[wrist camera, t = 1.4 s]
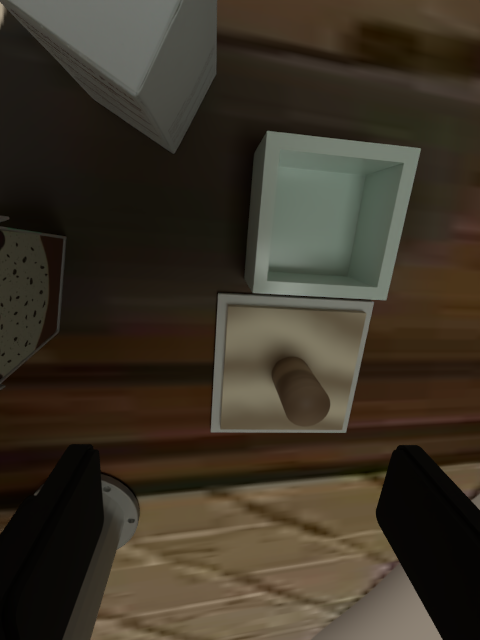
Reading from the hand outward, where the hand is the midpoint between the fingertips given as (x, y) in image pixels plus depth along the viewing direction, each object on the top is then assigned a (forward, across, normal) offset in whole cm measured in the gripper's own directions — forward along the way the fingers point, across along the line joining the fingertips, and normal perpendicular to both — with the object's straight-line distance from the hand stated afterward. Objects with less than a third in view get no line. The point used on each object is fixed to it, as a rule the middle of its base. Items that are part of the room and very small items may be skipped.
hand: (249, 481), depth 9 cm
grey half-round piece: (+22, +18, -2) cm, 28 cm away
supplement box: (+22, +7, -18) cm, 29 cm away
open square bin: (+22, -7, -8) cm, 24 cm away
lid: (+21, -7, +7) cm, 23 cm away
